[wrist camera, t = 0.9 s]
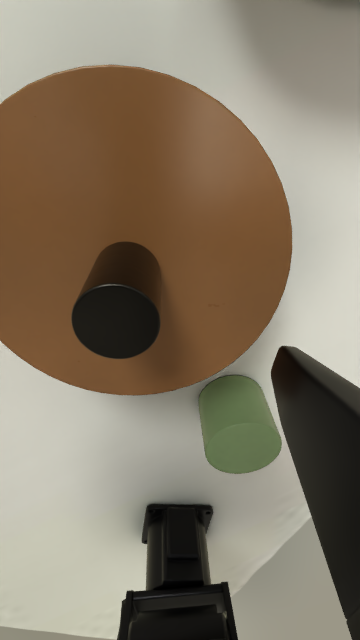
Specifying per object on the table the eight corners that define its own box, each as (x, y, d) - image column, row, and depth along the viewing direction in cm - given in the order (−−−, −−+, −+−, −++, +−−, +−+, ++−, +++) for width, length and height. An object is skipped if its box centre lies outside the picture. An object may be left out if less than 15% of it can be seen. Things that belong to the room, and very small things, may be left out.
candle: (253, 424, 26) (270, 475, 23) (193, 421, 26) (199, 472, 22) (270, 377, 24) (292, 425, 20) (204, 372, 23) (213, 420, 19)
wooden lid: (243, 389, 18) (270, 473, 14) (-9, 371, 16) (-71, 460, 12) (330, 106, 11) (438, 91, 7) (-76, 34, 10) (-265, -43, 5)
